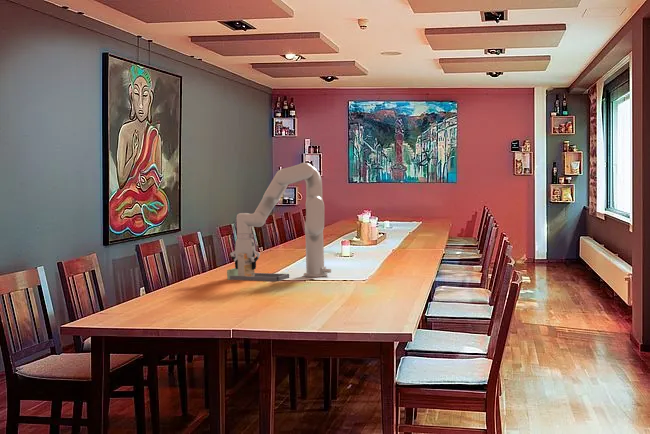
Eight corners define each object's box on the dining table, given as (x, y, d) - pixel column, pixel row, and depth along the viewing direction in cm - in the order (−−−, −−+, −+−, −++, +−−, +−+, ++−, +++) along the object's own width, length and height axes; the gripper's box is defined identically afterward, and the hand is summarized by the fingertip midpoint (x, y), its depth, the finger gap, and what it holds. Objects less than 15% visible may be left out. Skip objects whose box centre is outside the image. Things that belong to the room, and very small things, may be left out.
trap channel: (289, 277, 408) (288, 268, 408) (278, 281, 396) (278, 271, 396) (239, 276, 419) (238, 266, 419) (227, 279, 407) (227, 270, 407)
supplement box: (244, 279, 406) (243, 253, 405) (237, 278, 409) (237, 253, 408) (255, 276, 412) (254, 252, 412) (248, 276, 415) (247, 251, 414)
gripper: (262, 236, 409) (263, 268, 410) (233, 235, 416) (234, 267, 417) (255, 237, 402) (257, 270, 403) (226, 237, 409) (227, 269, 410)
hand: (245, 269), depth 410 cm, fingers open, 9 cm apart
